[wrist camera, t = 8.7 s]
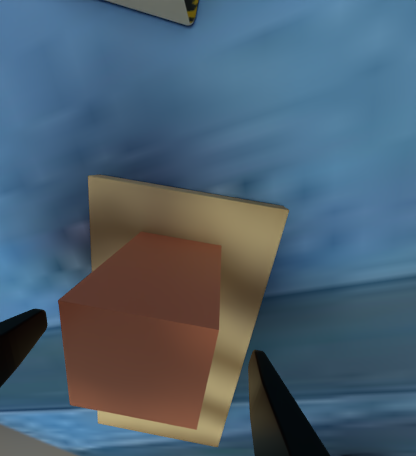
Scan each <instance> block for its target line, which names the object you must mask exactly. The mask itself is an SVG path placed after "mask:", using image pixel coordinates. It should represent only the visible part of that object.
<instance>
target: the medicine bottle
mask: <svg viewBox="0 0 416 456" xmlns="http://www.w3.org/2000/svg"><path fill="white" fill-rule="evenodd" d="M105 1H108V2H112V3H115V4H118V5H121V6H125V7H128V8H131V9H135V10H138V11H141V12H144V13H148V14H151V15H154V16H158V17H161V18H164V19H167V20H171V21H174V22H177V23H181V24H184V25H191V24H193V22H194V20H195V16H196V11H197V6H198V0H105Z"/></svg>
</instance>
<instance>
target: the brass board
mask: <svg viewBox="0 0 416 456" xmlns="http://www.w3.org/2000/svg"><path fill="white" fill-rule="evenodd" d="M88 189H89V214H90V239H91V263H92V272H93V271H94V270H95V269H96V268H98V267H99V266H100V265H101V264H102V263H104V262H105V261H106V260H107V259H109V258H110V257H111V256H112V255H113V254H115V253H116V252H117V251H118V250H119V249H121V248H122V247H123V246H124V245H125V244H127V243H128V242H129V241H130V240H131V239H133V238H134V237H135V236H136V235H137V234H139V233H140V232H147V233H152V234H158V235H164V236H169V237H175V238H181V239H186V240H192V241H198V242H204V243H209V244H215V245H221V281H220V317H219V333H218V337H217V342H216V346H215V351H214V355H213V359H212V364H211V368H210V373H209V377H208V382H207V386H206V390H205V395H204V399H203V404H202V408H201V413H200V417H199V421H198V426H197V430H195V429H190V428H185V427H179V426H174V425H169V424H164V423H159V422H154V421H149V420H144V419H139V418H134V417H129V416H124V415H119V414H113V413H108V412H103V411H98V410H97V411H98V423H99V424H104V425H109V426H114V427H119V428H124V429H129V430H134V431H139V432H144V433H149V434H154V435H159V436H164V437H169V438H174V439H179V440H184V441H189V442H194V443H199V444H204V445H209V446H214V447H218V444H219V441H220V438H221V435H222V431H223V428H224V425H225V421H226V418H227V415H228V411H229V408H230V405H231V401H232V398H233V395H234V391H235V388H236V385H237V382H238V378H239V375H240V372H241V368H242V365H243V362H244V358H245V355H246V352H247V348H248V345H249V342H250V338H251V335H252V332H253V329H254V325H255V322H256V319H257V315H258V312H259V309H260V305H261V302H262V299H263V295H264V292H265V289H266V285H267V282H268V279H269V276H270V272H271V269H272V266H273V262H274V259H275V256H276V252H277V249H278V246H279V242H280V239H281V236H282V232H283V229H284V226H285V223H286V219H287V216H288V213H289V210H288V209H287V208H285V207H284V206H280V205H275V204H269V203H263V202H257V201H251V200H245V199H240V198H234V197H228V196H222V195H216V194H210V193H205V192H199V191H193V190H187V189H181V188H175V187H170V186H164V185H158V184H152V183H146V182H140V181H135V180H129V179H123V178H117V177H111V176H105V175H90V176H88Z"/></svg>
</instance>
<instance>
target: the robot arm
mask: <svg viewBox="0 0 416 456" xmlns="http://www.w3.org/2000/svg"><path fill="white" fill-rule="evenodd" d="M46 328H47V317H46V312H45V311H44V310H41V309H32V310H29V311H27V312H24V313H22V314H19V315H17V316H15V317H12V318H10V319H7V320H5V321H2V322H0V387H1V386H2V385H3V384H4V383H5V381H6V380H7V379H8V378H9V377H10V376H11V375H12V373H13V372H14V371H15V370H16V369H17V367H18V366H19V365H20V364H21V362H22V361H23V360H24V358H25V357H26V356H27V354H28V353H29V352H30V350H31V349H32V348H33V346H34V345H35V344H36V342H37V341H38V340H39V338H40V337H41V336H42V334H43V333H44V332H45V330H46ZM248 373H249V404H250V420H251V429H252V437H253V445H254V453H255V456H330V454H329V453H328V451H327V450H326V448H325V447H324V445H323V443H322V442H321V440H320V439H319V437H318V436H317V434H316V432H315V431H314V429H313V428H312V426H311V425H310V423H309V422H308V420H307V418H306V417H305V415H304V414H303V412H302V411H301V409H300V408H299V406H298V404H297V403H296V401H295V400H294V398H293V397H292V395H291V393H290V392H289V390H288V389H287V387H286V386H285V384H284V383H283V381H282V379H281V378H280V376H279V375H278V373H277V372H276V370H275V368H274V367H273V365H272V364H271V362H270V361H269V359H268V358H267V356H266V354H265V353H264V352H263V351H259V350H253V352H252V355H251V358H250V362H249V367H248Z"/></svg>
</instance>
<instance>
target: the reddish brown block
mask: <svg viewBox="0 0 416 456" xmlns="http://www.w3.org/2000/svg"><path fill="white" fill-rule="evenodd" d="M220 281H221V245H215V244H209V243H204V242H198V241H192V240H186V239H181V238H175V237H169V236H164V235H158V234H152V233H147V232H140V233H139V234H137V235H136V236H135V237H134V238H133V239H131V240H130V241H129V242H128V243H127V244H125V245H124V246H123V247H122V248H121V249H119V250H118V251H117V252H116V253H115V254H113V255H112V256H111V257H110V258H109V259H107V260H106V261H105V262H104V263H102V264H101V265H100V266H99V267H98V268H96V269H95V270H94V271H93V272H92V273H90V274H89V275H88V276H87V277H86V278H84V279H83V280H82V281H81V282H80V283H78V284H77V285H76V286H75V287H74V288H72V289H71V290H70V291H69V292H68V293H66V294H65V295H64V296H63V297H62V298H60V299H59V300H58V303H59V311H60V320H61V329H62V338H63V347H64V356H65V364H66V373H67V382H68V391H69V400H70V405H73V406H78V407H83V408H88V409H93V410H98V411H103V412H108V413H113V414H119V415H124V416H129V417H134V418H139V419H144V420H149V421H154V422H159V423H164V424H169V425H174V426H179V427H185V428H190V429H195V430H197V426H198V421H199V417H200V413H201V408H202V404H203V399H204V395H205V390H206V386H207V382H208V377H209V373H210V368H211V364H212V359H213V355H214V351H215V346H216V342H217V337H218V333H219V317H220Z"/></svg>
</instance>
